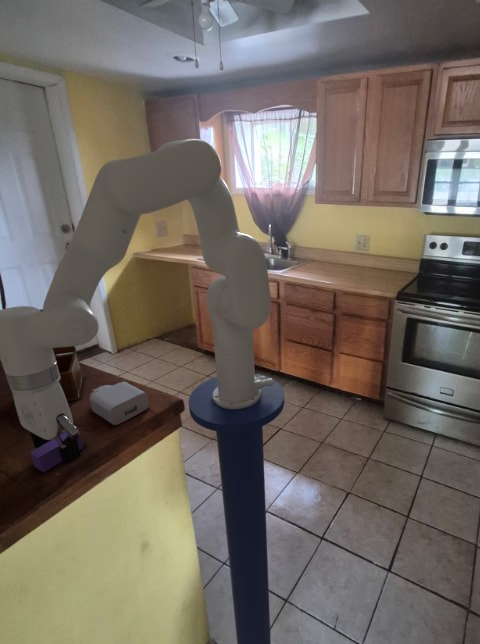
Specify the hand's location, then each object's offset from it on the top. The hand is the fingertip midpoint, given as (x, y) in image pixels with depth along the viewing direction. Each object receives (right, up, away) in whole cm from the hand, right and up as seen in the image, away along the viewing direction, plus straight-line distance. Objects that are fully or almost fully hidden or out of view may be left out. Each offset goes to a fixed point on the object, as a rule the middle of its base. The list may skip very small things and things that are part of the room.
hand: (57, 451), depth 73 cm
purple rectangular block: (0, -1, +1) cm, 1 cm away
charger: (+3, +6, +17) cm, 18 cm away
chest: (-15, +8, +22) cm, 28 cm away
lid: (-17, +24, +21) cm, 36 cm away
